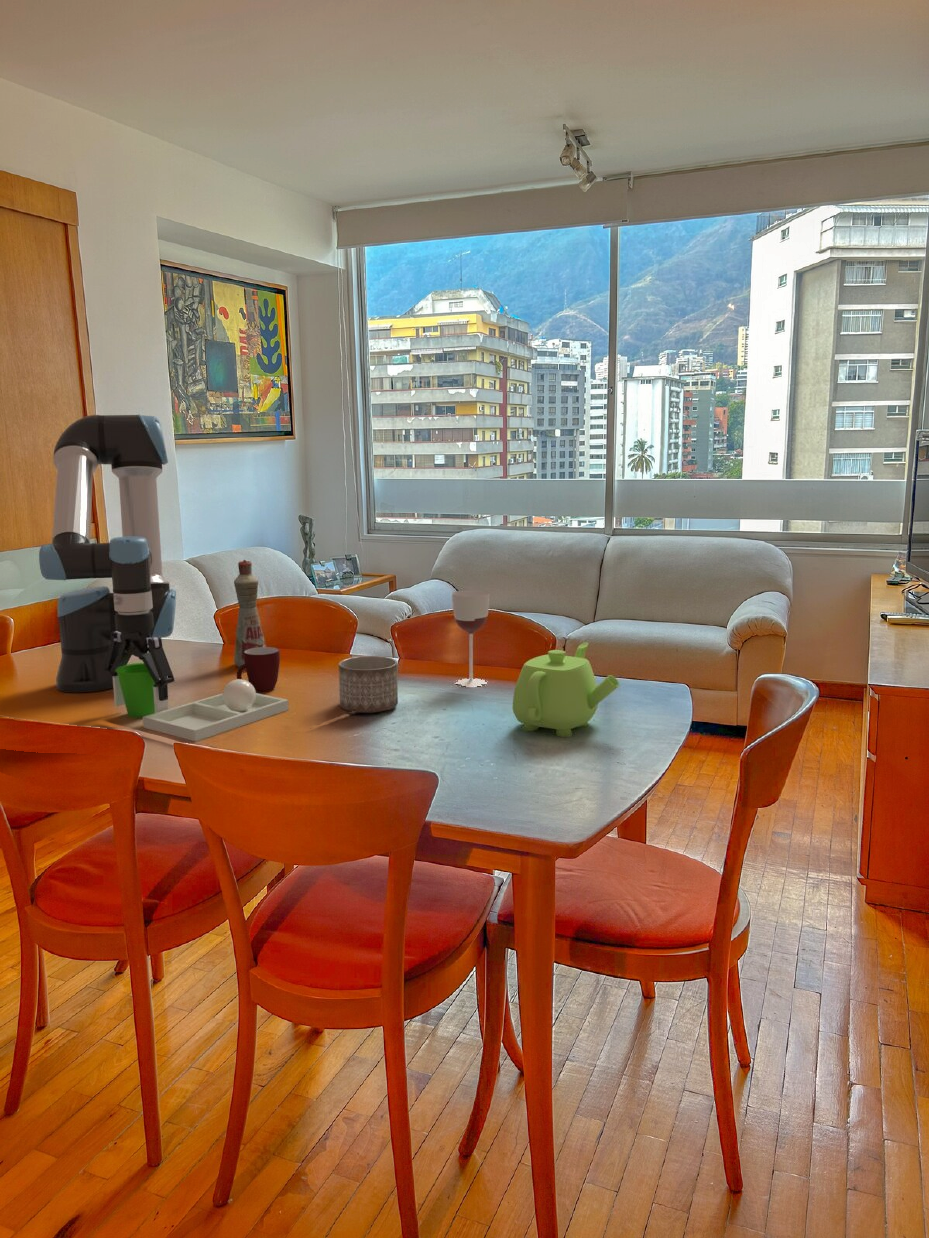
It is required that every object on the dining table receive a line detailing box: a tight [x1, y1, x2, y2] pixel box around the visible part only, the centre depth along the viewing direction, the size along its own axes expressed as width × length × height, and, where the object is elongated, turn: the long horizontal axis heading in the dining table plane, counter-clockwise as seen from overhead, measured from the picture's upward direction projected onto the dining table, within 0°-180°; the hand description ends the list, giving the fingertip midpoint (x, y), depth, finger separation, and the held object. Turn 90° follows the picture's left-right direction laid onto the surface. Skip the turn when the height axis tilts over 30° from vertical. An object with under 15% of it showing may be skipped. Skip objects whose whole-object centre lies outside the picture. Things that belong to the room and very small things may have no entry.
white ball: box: [221, 678, 257, 712], centre depth 192 cm, size 7×7×7 cm
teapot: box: [512, 642, 620, 738], centre depth 183 cm, size 25×22×16 cm
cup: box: [115, 662, 155, 719], centre depth 190 cm, size 9×9×11 cm
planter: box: [338, 655, 399, 714], centre depth 197 cm, size 13×13×10 cm
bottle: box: [233, 559, 267, 669], centre depth 233 cm, size 9×9×28 cm
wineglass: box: [451, 589, 490, 688], centre depth 216 cm, size 9×10×22 cm
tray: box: [142, 692, 290, 743], centre depth 188 cm, size 16×25×3 cm, turn 146°
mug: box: [236, 646, 281, 693], centre depth 208 cm, size 10×8×10 cm
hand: (141, 709), depth 191 cm, fingers open, 13 cm apart
